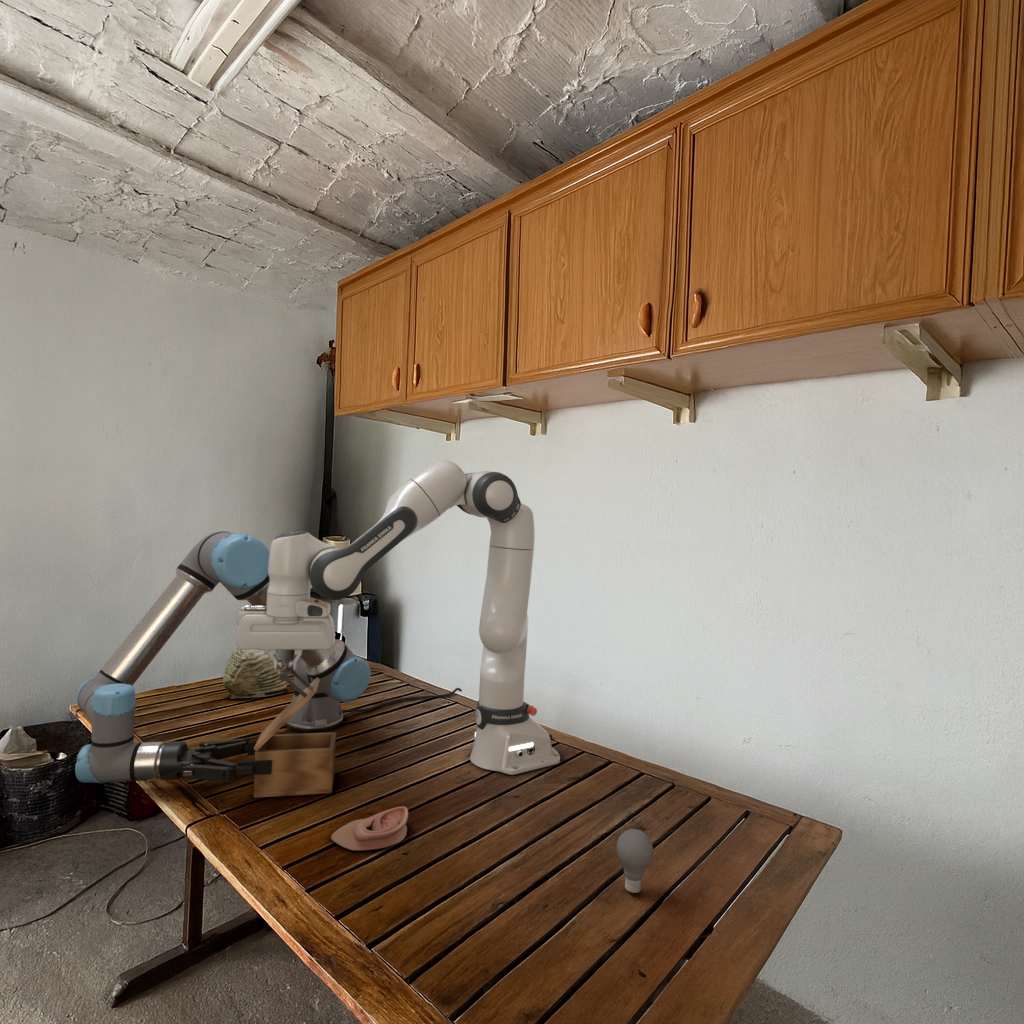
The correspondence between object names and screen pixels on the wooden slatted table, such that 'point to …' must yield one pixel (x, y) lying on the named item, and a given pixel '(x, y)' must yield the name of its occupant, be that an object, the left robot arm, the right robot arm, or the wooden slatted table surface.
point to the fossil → (252, 675)
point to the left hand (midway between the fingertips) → (275, 756)
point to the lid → (291, 708)
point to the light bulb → (634, 857)
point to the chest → (297, 765)
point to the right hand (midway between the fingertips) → (285, 669)
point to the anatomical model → (374, 830)
